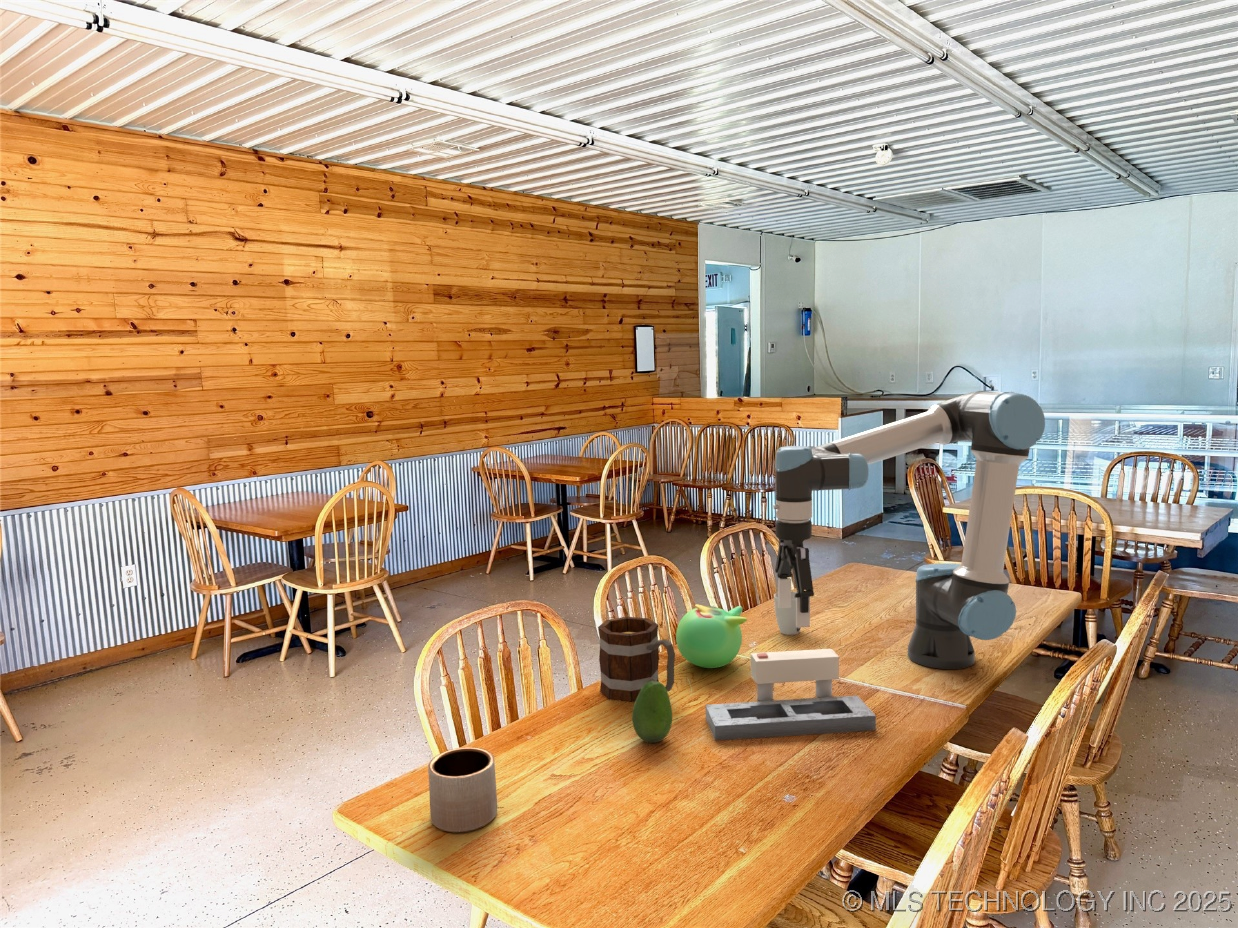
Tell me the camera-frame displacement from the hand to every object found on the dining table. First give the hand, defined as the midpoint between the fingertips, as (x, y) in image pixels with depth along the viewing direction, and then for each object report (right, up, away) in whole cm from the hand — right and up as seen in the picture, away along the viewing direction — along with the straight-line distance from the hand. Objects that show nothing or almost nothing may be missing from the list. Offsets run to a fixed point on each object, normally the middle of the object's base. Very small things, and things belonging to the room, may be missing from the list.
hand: (793, 616), depth 179 cm
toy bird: (-15, -16, +23) cm, 32 cm away
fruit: (-31, -21, -16) cm, 41 cm away
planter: (-63, -26, -41) cm, 80 cm away
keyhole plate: (-3, -20, -11) cm, 23 cm away
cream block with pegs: (+1, -18, +2) cm, 18 cm away
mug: (-33, -19, +7) cm, 38 cm away
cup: (+8, -12, +45) cm, 47 cm away
